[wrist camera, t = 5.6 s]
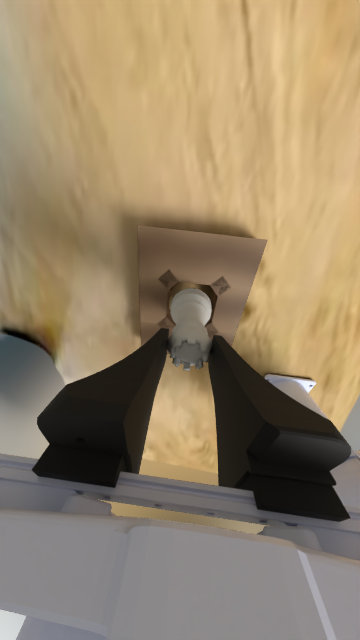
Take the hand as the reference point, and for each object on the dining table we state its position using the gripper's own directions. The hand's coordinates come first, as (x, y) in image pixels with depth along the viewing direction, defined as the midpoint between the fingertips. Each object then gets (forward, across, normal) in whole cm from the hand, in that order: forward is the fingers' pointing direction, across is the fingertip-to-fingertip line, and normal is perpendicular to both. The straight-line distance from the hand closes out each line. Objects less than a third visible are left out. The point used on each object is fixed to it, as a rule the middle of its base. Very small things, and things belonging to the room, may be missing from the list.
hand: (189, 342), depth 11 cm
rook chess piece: (+7, 0, 0) cm, 7 cm away
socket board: (+9, 0, 0) cm, 9 cm away
